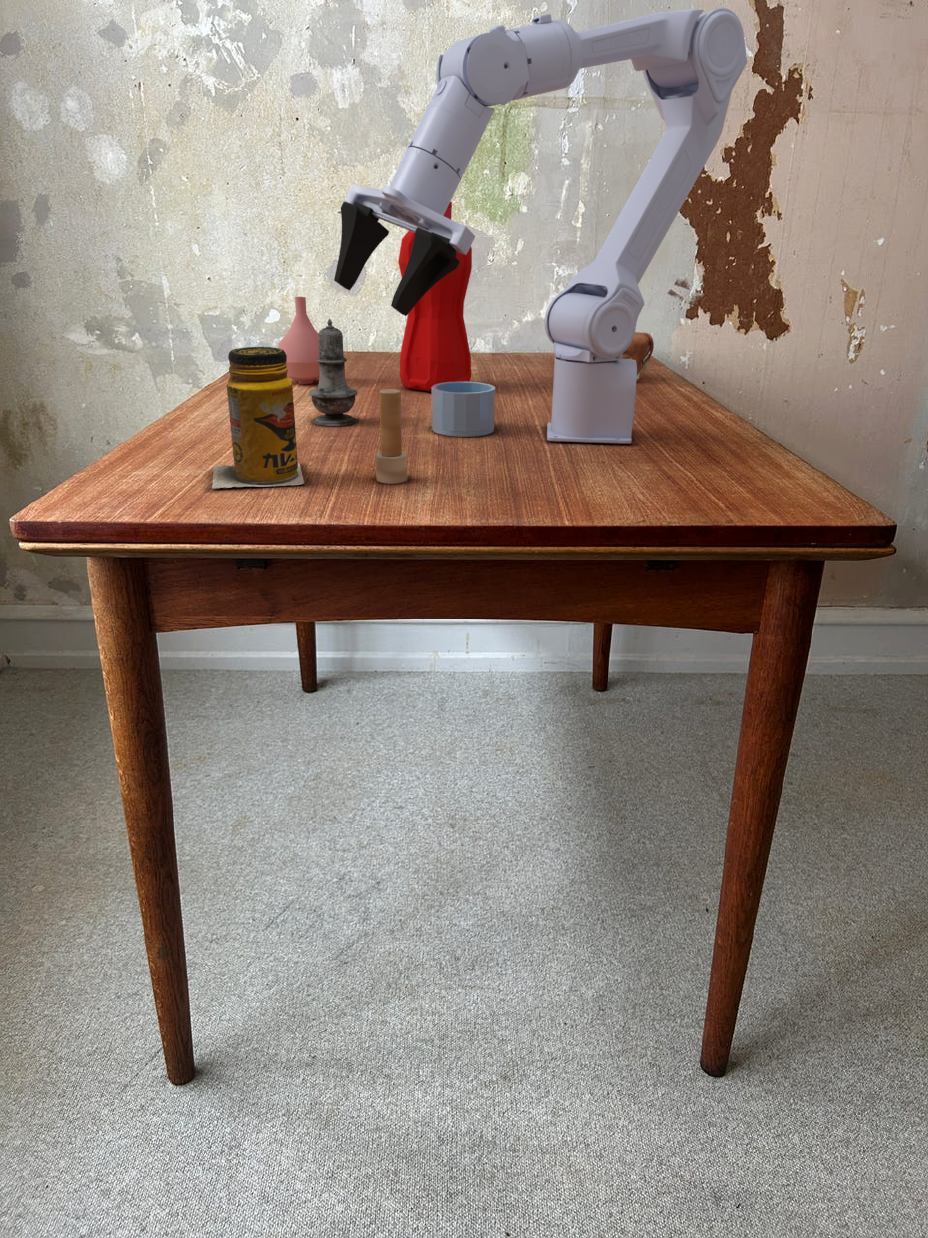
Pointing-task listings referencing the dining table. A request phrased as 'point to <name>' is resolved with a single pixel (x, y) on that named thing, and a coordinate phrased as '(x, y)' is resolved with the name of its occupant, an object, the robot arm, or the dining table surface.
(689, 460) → the dining table surface
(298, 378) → the pink vase
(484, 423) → the beaker
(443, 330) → the water bottle
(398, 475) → the brush
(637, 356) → the bull figurine
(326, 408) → the salt shaker
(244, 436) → the condiment
